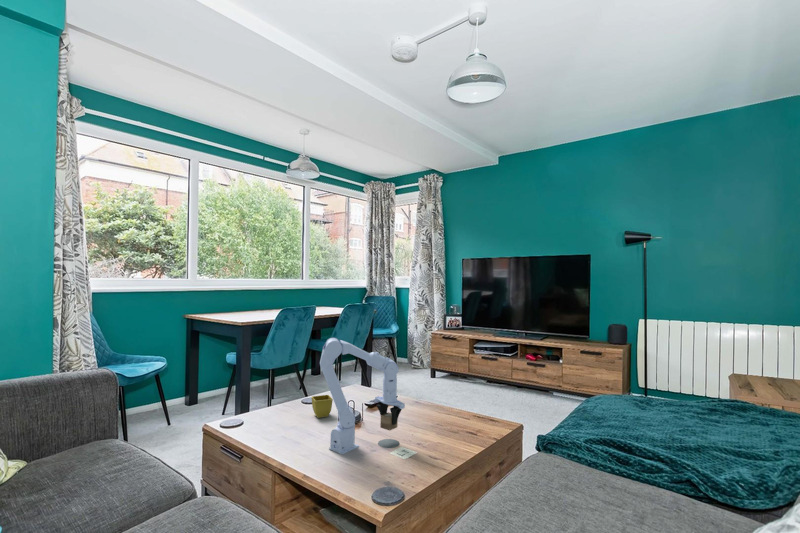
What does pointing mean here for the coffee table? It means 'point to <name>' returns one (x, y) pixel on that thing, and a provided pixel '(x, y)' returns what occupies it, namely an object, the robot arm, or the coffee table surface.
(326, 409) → the flower pot
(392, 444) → the slate coaster
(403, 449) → the tile
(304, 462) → the coffee table surface
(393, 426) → the walnut block
